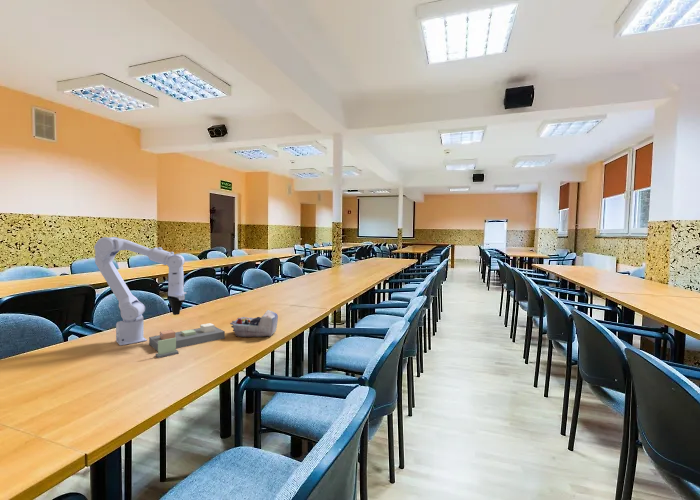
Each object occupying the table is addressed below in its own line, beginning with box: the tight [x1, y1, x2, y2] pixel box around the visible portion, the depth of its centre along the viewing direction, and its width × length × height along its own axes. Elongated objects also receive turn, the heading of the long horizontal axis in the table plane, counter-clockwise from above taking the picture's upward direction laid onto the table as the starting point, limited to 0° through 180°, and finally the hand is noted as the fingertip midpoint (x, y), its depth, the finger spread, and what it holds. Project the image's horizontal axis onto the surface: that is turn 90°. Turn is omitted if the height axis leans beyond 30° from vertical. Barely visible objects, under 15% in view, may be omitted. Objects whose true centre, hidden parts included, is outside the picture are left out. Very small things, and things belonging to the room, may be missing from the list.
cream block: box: [199, 322, 216, 333], centre depth 148 cm, size 4×4×4 cm
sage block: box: [181, 328, 196, 337], centre depth 142 cm, size 4×4×4 cm
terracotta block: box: [159, 329, 176, 340], centre depth 136 cm, size 4×4×4 cm
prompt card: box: [155, 338, 179, 359], centre depth 126 cm, size 7×3×6 cm, turn 135°
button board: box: [148, 326, 226, 352], centre depth 142 cm, size 26×12×3 cm, turn 135°
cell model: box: [229, 309, 279, 338], centre depth 154 cm, size 13×11×20 cm
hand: (176, 314), depth 145 cm, fingers closed
